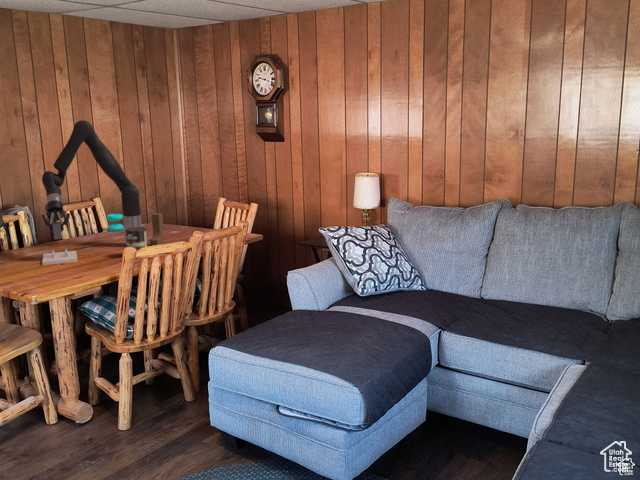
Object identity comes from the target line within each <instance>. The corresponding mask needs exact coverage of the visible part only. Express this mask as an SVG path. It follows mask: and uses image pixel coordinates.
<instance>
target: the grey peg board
mask: <svg viewBox="0 0 640 480" xmlns="http://www.w3.org/2000/svg"><path fill="white" fill-rule="evenodd" d="M77 254H78V253H77V250H70V251H69V250H68V249H67V248H64V251H59V252H55V250H54V249H53V250H51V252H48V253H43V254H42V266H48V265H56V264H57V265H58V264H68V263H77V262H78V255H77Z"/></svg>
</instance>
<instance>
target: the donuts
mask: <svg viewBox="0 0 640 480" xmlns="http://www.w3.org/2000/svg"><path fill="white" fill-rule="evenodd" d="M123 219H124V215H123V214H122V213H110V214H107V215H106V220H107V221H110V222H117V221H121V220H123ZM107 230H108V231H109V232H121V231H123V230H125V228H124V224H121V223H111V224H109V225H108V226H107Z"/></svg>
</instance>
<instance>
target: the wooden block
mask: <svg viewBox="0 0 640 480" xmlns="http://www.w3.org/2000/svg"><path fill="white" fill-rule="evenodd" d="M163 217H164V215H163V213H159V212H155V213H152V214H151V222H152V223H151V224H152V237H151V238H150V240H149V247H150V246H152V245H157V244H163V243H164V244H165V234H164V230H165V229H164V219H163Z"/></svg>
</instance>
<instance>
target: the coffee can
mask: <svg viewBox="0 0 640 480" xmlns="http://www.w3.org/2000/svg"><path fill="white" fill-rule="evenodd" d="M126 238H127V246H126V247H135V248H136V249H137V250H138V249H140V248H142V247H147V248H148V240H147V228H146V227H134V228H128V229H126Z"/></svg>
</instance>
